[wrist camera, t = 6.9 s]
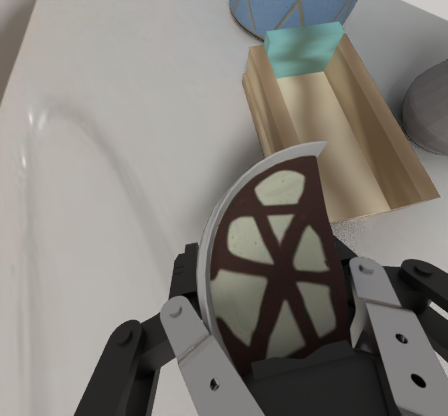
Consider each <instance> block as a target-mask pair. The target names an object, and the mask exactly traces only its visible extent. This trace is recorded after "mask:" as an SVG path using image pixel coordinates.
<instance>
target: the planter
mask: <svg viewBox="0 0 448 416" xmlns="http://www.w3.org/2000/svg"><path fill="white" fill-rule="evenodd" d="M356 2H357V0H230V9H231V12H232V14H233V15H234V17H235V18H236V20H237V21H238V22H239V23H240V24H241V25H242V26H243V27H244V28H245V29H247V30H248V31H250V32H251V33H253V34H254V35H256V36H257V37H259V38H261V39H262V40H265V34H266V31H273V30H280V29H288V28H295V27H302V26H310V25H317V24H324V23H332V22H340V24H341V26H342V25H343V24H344V22H345V21H346V19H347V18H348V16H349V15H350V13H351V11H352V9H353V8H354V6H355V4H356Z"/></svg>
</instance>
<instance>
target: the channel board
mask: <svg viewBox="0 0 448 416" xmlns="http://www.w3.org/2000/svg"><path fill="white" fill-rule="evenodd" d="M344 32H345V31H344V29H343V27H342V26H341V24H340V22H332V23H324V24H317V25H310V26H302V27H295V28H288V29H280V30H273V31H266V34H265V40H264V45H261V46H254V47H249V54H248V63H247V71H246V73H245V74H243V80H242V84H243V88H244V91H245V94H246V98H247V101H248V104H249V108H250V111H251V114H252V118H253V121H254V124H255V128H256V131H257V134H258V138H259V141H260V144H261V148H262V151H263V154H264V158H267V157H269V156H271V155H272V154H274V153H276V152H279V151H282V150H284V149H287V148H289V147H292V146H296V145H300V144H305V143H309V142H318V141H328V143H327V144H326V146H325V147H324V149H323V150H322V151H321V153H320V154H319V156H318V157H317V164H318V169H319V175H320V180H321V185H322V190H323V195H324V201H325V206H326V211H327V214H328V218H329V222H330V223H334V222H339V221H344V220H349V219H353V218H358V217H363V216H368V215H373V214H378V213H383V212H388V211H393V210H398V209H402V208H405V207H409V206H411V205H415V204H418V203H422V202H425V201H429V200H432V199H436V198H439V197H440V195H439V193H438V192H437V190H436V188H435V186H434V185H433V183H432V181H431V180H430V178H429V176H428V174H427V173H426V171H425V169H424V167H423V166H422V164H421V162H420V161H419V159H418V157H417V155H416V154H415V152H414V150H413V149H412V147H411V145H410V143H409V142H408V140H407V138H406V136H405V135H404V133H403V131H402V130H401V128H400V126H399V124H398V123H397V121H396V119H395V118H394V116H393V114H392V112H391V111H390V109H389V107H388V106H387V104H386V102H385V100H384V99H383V97H382V95H381V93H380V92H379V90H378V88H377V87H376V85H375V83H374V81H373V80H372V78H371V76H370V75H369V73H368V71H367V69H366V68H365V66H364V64H363V62H362V61H361V59H360V57H359V56H358V54H357V52H356V50H355V49H354V47H353V45H352V44H351V42H350V40H349V38H348V37H347V35H346V34H344Z"/></svg>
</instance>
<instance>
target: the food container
mask: <svg viewBox="0 0 448 416" xmlns="http://www.w3.org/2000/svg"><path fill="white" fill-rule="evenodd" d="M327 143H328V141H318V142H309V143H305V144H300V145H296V146H292V147H289V148H287V149H284V150H282V151H279V152H276V153H274V154H272V155H271V156H269V157H267V158H265V159H263V160H262V161H260V162H258V163H257V164H255V165H253V166H252V167H250V168H249V169H248V170H247V171H245V172H244V173H243V174H242V175H240V176H239V177H238V178H237V179H236V180H235V181H234V182H233V183H232V185H231V186H230V187H229V188H228V189H227V190H226V191H225V193H224V194H223V196H222V197H221V199H220V200H219V202H218V203H217V205H216V207H215V208H214V210H213V212H212V213H211V215H210V218H209V220H208V222H207V224H206V227H205V229H204V231H203V235H202V239H201V243H200V246H199V250H198V259H197V269H196V279H197V295H198V301H199V306H200V311H201V316H202V320H203V324H204V326H205V327H206V329H207V330H208V332H209V333H211V334H212V335H213V336H214V338H215V339H216V341H217V342H218V344H219V345H220V347H221V349H222V350H223V352H224V353H225V355H226V356H227V358H228V359H229V361H230V362H231V364H232V365H233V367H234V369H235V370H236V372H237V373H238V375H239V376H240V378H241V379H242V378H243V377H244V376H245V375H246V374H247V373H249V372H250V371H252V366H251V363H252V362H256V361H260V360H264V359H269V358H273V357H281V358H292V359H304V358H306V357H307V356H309V355H310V354H312V353H313V352H315V351H316V350H317V349H319V348H320V347H322V346H323V345H327V344H331V343H335V342H339V341H344V340H347V341H348V343H349V344H350V346H351V347H352V339H351V332H350V322H349V312H348V302H347V294H346V287H345V278H344V272H343V268H342V264H341V261H340V257H339V253H338V249H337V246H336V243H335V239H334V236H333V233H332V229H331V226H330V222H329V218H328V214H327V211H326V206H325V201H324V195H323V190H322V185H321V180H320V175H319V169H318V164H317V157H318V156H319V154H320V153H321V151H322V150H323V149H324V147H325V146H326V144H327ZM352 348H353V347H352Z"/></svg>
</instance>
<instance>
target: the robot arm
mask: <svg viewBox="0 0 448 416" xmlns="http://www.w3.org/2000/svg"><path fill="white" fill-rule="evenodd" d="M333 236H334V235H333ZM334 239H335V243H336V246H337V249H338V253H339V257H340V261H341V264H342V268H343V272H344V278H345V287H346V294H347V302H348V312H349V322H350V332H351V339H352V347H353V348H352V347H351V346H350V344H349V343H348V341H347V340H344V341H339V342H335V343H331V344H327V345H323V346H322V347H320V348H319V349H317V350H316V351H315V352H313V353H312V354H310V355H309V356H307V357H306V358H304V359H292V358H281V357H273V358H269V359H264V360H260V361H256V362H252V363H251V366H252V371H250V372H249V373H247V374H246V375H245V376H244V377H243V378H242V379H241V378H240V376H239V375H238V373H237V372H236V370H235V369H234V367H233V365H232V364H231V362H230V361H229V359H228V358H227V356H226V355H225V353H224V352H223V350H222V349H221V347H220V345H219V344H218V342H217V341H216V339H215V338H214V336H213V335H212V334H211V333H209V332H208V330H207V329H206V327H205V326H204V324H203V322H202V321H201V320H202V316H201V311H200V306H199V301H198V295H197V279H196V269H197V259H198V250H199V246H198V243H197V242H196V243H191V244H187V245H186V246H185V253H183V254H179V255H178V256H177V258H176V260H175V262H174V269H173V275H172V281H171V287H170V293H169V299H168V301H167V302H166V303H165V304H164V305H163V307H162V309H161V312H159V313H158V314H157V315H155V316H154V317H152V318H150V319H148V320H146V321H144V322H143V323H141V324H140V322H139V321H137V320H129V321H126V322H124V323H123V324H121V325H120V326H119V327H117V328H116V329H115V331H114V332H113V333H112V334H111V336H110V338H109V340H108V342H107V344H106V346H105V348H104V351H103V353H102V355H101V357H100V359H99V362H98V364H97V366H96V368H95V370H94V372H93V375H92V377H91V379H90V381H89V383H88V386H87V388H86V390H85V392H84V394H83V396H82V399H81V401H80V403H79V405H78V407H77V410H76V412H75V414H74V416H151V414H152V409H153V404H154V399H155V394H156V389H157V384H158V379H159V374H160V369H161V367H162V366H163V365H165V364H166V363H168V362H169V361H171V360H172V359H174V358H175V357H176V358H177V361H178V366H179V369H180V371H181V374H182V376H183V379H184V381H185V383H186V386H187V388H188V391H189V393H190V396H191V398H192V400H193V403H194V405H195V408H196V410H197V413H198V415H199V416H448V378H447V376H446V374H445V372H444V370H443V368H442V366H441V364H440V362H439V360H438V358H437V356H436V354H435V352H434V350H435V351H436V352H437V353H438V354H439V355H440V356H441V357H442V358H443V359H444V360H445V361H447V362H448V320H447V319H445V318H444V317H443V316H441V315H440V314H439V313H437V312H436V311H435V310H434V309H432V308H431V307H430V306H429V305H430V303H431V302H434V303H435V304H437V305H438V306H439V307H441V308H442V309H443V310H445V311H446V312H447V313H448V273H446V272H444V271H442V270H441V269H439V268H437V267H436V266H434V265H432V264H430V263H427V262H424V261H421V260H415V259H408V260H405V261H403V263H402V265H401V267H389V266H381V265H380V264H379V263H377V262H375V261H373V260H371V259H368V258H364V257H358V256H357V255H356V254H355V253H354V252H353V251H351V250H350V249H349V248H348V247H347V246H346V245H345V244H343V243H342V242H341V241H340V240H339V239H338V238H337V237H336V236H334ZM433 349H434V350H433Z"/></svg>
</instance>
